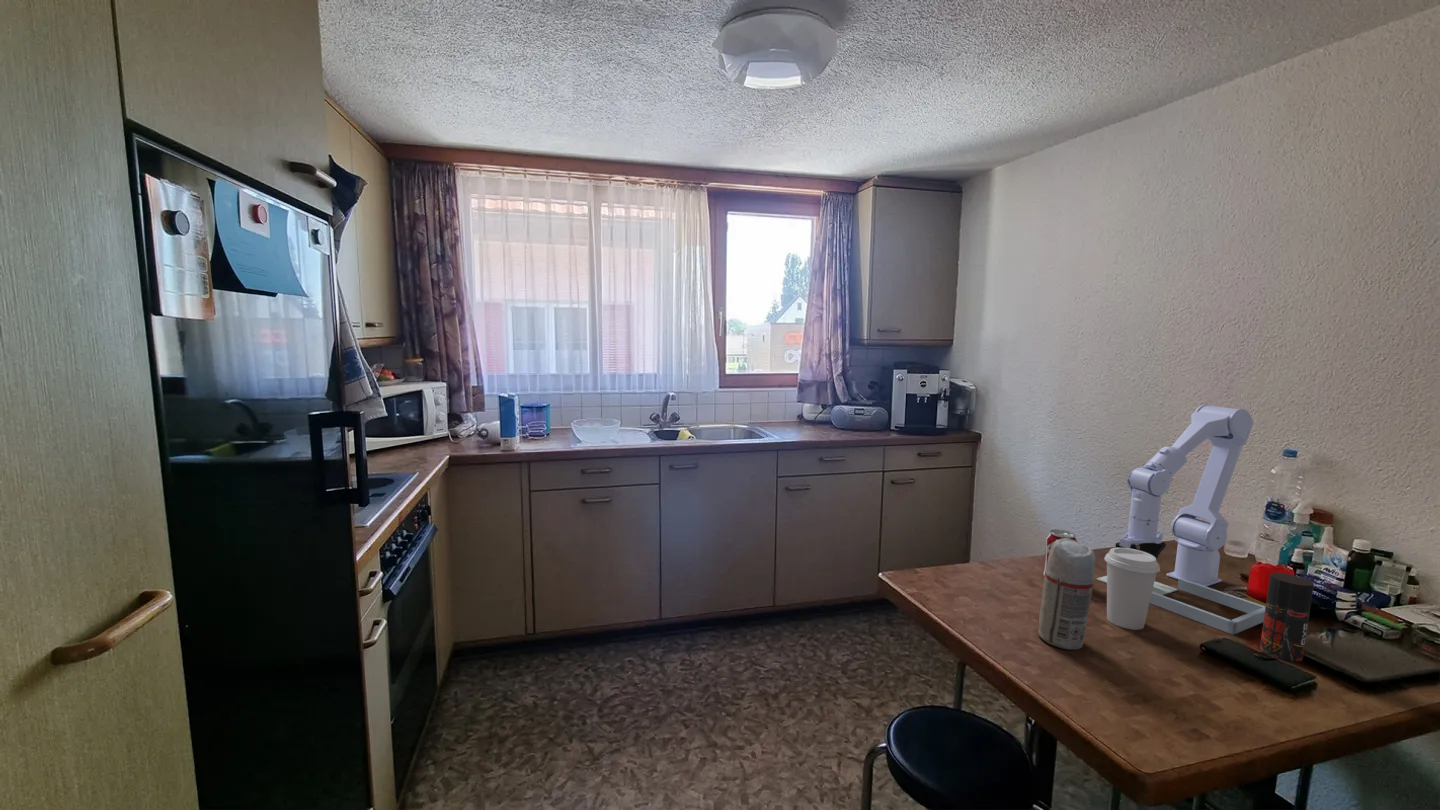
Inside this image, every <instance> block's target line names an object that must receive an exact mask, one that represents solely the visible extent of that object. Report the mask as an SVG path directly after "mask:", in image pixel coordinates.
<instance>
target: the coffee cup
mask: <svg viewBox="0 0 1440 810" xmlns="http://www.w3.org/2000/svg"><path fill="white" fill-rule="evenodd" d="M1157 560H1158V559H1157ZM1157 560H1156V558H1155V557H1154V556H1153V555H1151V554H1149V553H1146V552H1143V551H1139V550H1135V549H1130V548H1116V547H1112V548H1110V549H1109V551H1108V552H1107V553H1106V554H1105V555H1104V561H1105V562H1106V576H1107V583H1106V619H1107V620H1108V622H1110V623H1111V624H1113V625H1115V626H1117V627H1120V628H1123V629H1126V630H1127V629H1128V630H1133V631H1139V630H1143V629H1144V628H1145V623H1146V620H1147V615H1148V611H1149V608H1150V607H1149V606H1150V604H1151V603H1150V599H1151V594H1152V590H1153V586H1154V582H1155V581H1156V577H1157V573H1159V572H1160V571H1161V567H1160V564H1159V563H1158V562H1157Z"/></svg>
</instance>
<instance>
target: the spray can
mask: <svg viewBox="0 0 1440 810" xmlns="http://www.w3.org/2000/svg"><path fill="white" fill-rule="evenodd" d="M1096 560H1097V557H1096V554H1095V552H1094V549H1093V548H1092V547H1091V546H1090V545H1087V544H1082V543H1080V542H1078V540H1077V541H1075V540H1072V539H1067V538H1065V539H1061V540H1056V541H1055V542H1054V543H1053V544H1052V547H1051V550H1050V553H1049V557H1048V562H1047V568H1046V572H1045V576H1044V578H1043V586H1042V592H1041V593H1042V594H1041V603H1040V609H1039V618H1038V625H1039V626H1038V630H1037V632H1036V633H1037V635H1038V636H1039V637H1040V639H1042V640H1043V641H1044V643H1047V644H1048V645H1052V646H1054V647H1057V648H1059V649H1063V650H1081V649H1082V648H1083V647H1084V641H1085V636H1086V630H1087V622H1088V617H1089V611H1090V605H1091V598H1092V593H1093V586H1094V579H1095V578H1094V577H1095V569H1096V568H1095V567H1096V562H1097V561H1096Z"/></svg>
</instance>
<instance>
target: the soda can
mask: <svg viewBox="0 0 1440 810" xmlns="http://www.w3.org/2000/svg"><path fill="white" fill-rule="evenodd" d="M1076 537H1077V536H1076V534H1075V533H1073V532H1071V531H1068V530H1063V529H1050V531H1049V534H1048V535H1046V538H1045V540H1046V541H1045V549H1044V560H1043V568H1042V569H1043V570H1042V575H1043V577H1045V572H1046V568H1047V562H1048V557H1049V553H1050V550H1051V547H1052V544H1053V543H1054V542H1055V541H1056V540H1061V539H1065V538H1067V539H1072V540H1075V541H1077V542H1078V540H1077V538H1076Z"/></svg>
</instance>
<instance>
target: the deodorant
mask: <svg viewBox="0 0 1440 810" xmlns="http://www.w3.org/2000/svg"><path fill="white" fill-rule="evenodd" d="M1314 583H1315V582H1313V581H1311V580H1310V579H1307V578H1305V577H1302V576H1299V575H1294V574H1289V573H1285V572H1284V573H1283V572H1271V573H1270V575H1269V581H1268V587H1267V589H1268V590H1267V595H1266V600H1265V601H1266V602H1265V606H1266V608H1265V615H1264V622H1262V628H1261V629H1262V630H1261V635H1260V636H1261V638H1260V642H1259V643H1260V645H1259V648H1260V650H1261V651H1262V652H1264V654H1266V655H1269V656H1271V655H1272V656H1271V657H1273V656H1274V658H1277V659H1279V660H1283V661H1288V662H1293V663H1298V662H1302V661H1303V658H1304V652H1305V646H1306V641H1307V640H1306V639H1307V633H1308V626H1309V621H1310V620H1309V619H1310V612H1311V608H1312V607H1311V606H1312V600H1313V593H1314V585H1315V584H1314Z"/></svg>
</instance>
